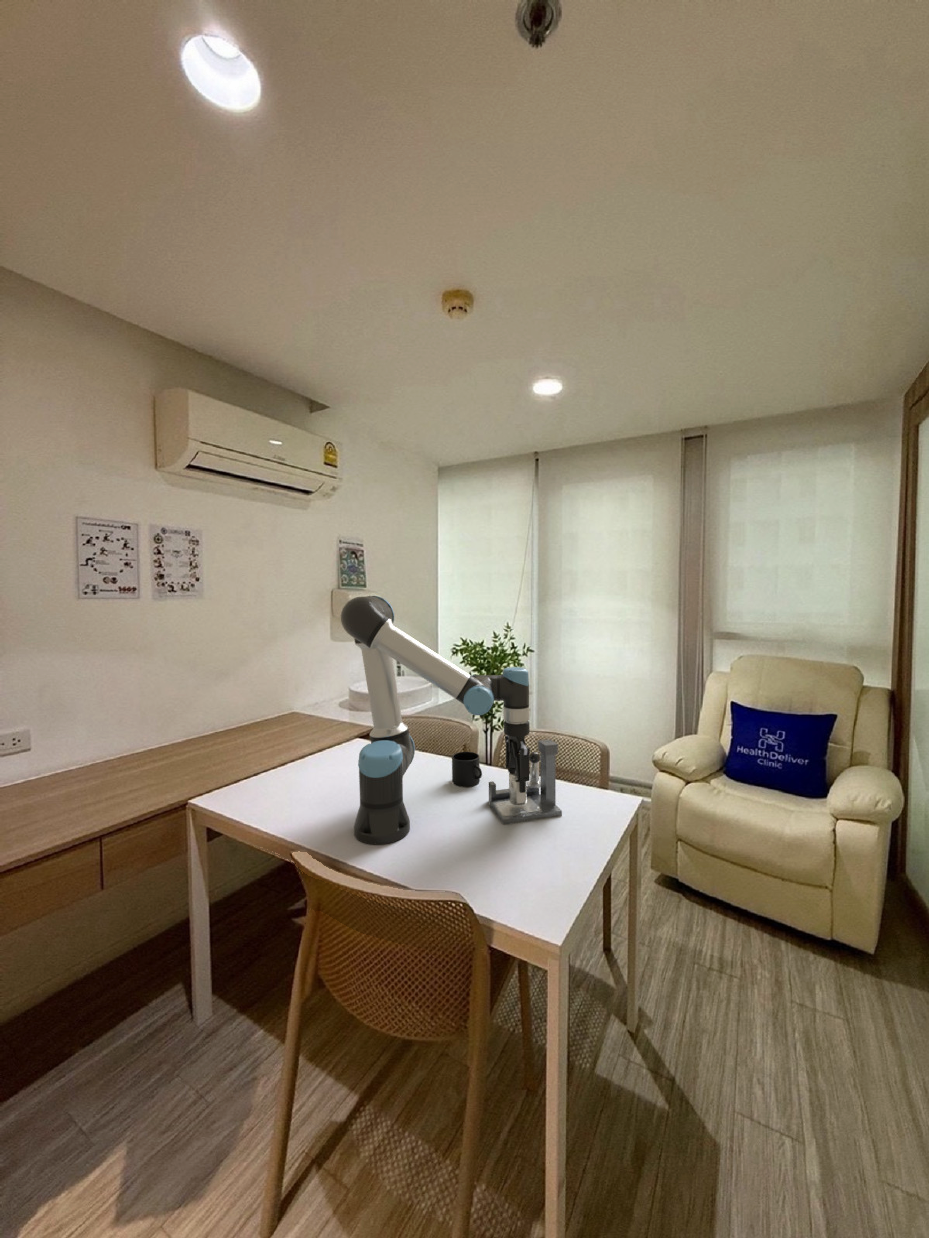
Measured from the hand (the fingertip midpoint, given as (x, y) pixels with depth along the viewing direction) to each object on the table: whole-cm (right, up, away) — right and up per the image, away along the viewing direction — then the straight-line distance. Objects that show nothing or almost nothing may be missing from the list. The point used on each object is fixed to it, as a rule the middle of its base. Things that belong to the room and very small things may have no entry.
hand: (517, 797), depth 142 cm
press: (+2, -4, +2) cm, 5 cm away
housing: (0, -1, 0) cm, 1 cm away
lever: (+7, 0, +11) cm, 13 cm away
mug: (-14, -3, +22) cm, 27 cm away
